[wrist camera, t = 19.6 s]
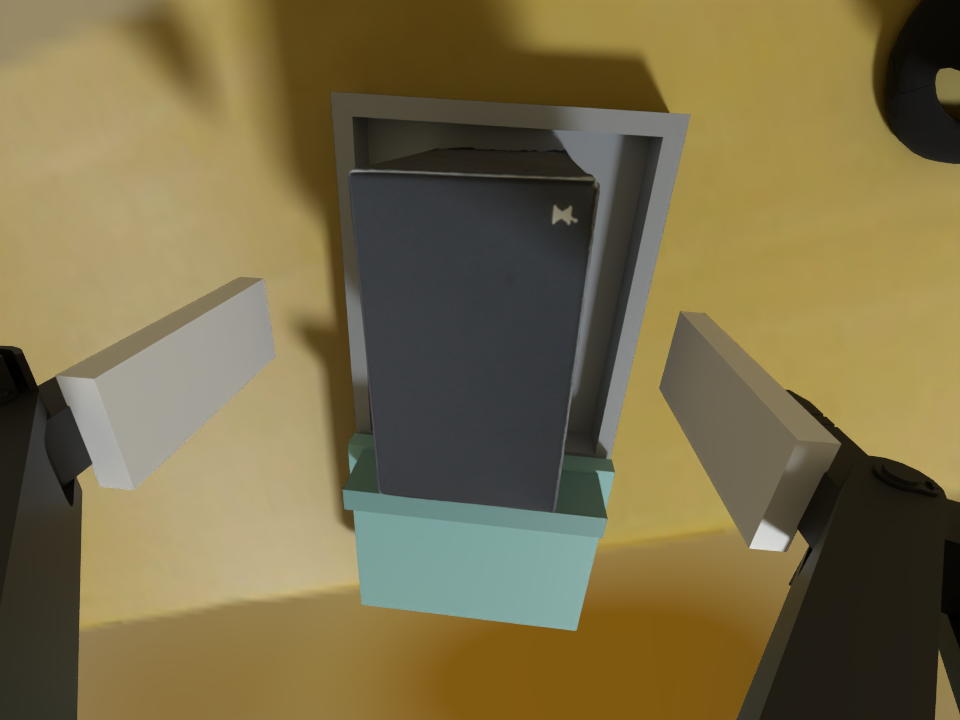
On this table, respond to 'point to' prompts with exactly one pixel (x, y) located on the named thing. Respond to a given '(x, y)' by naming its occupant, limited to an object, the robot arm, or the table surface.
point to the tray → (617, 235)
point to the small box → (472, 318)
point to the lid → (478, 547)
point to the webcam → (925, 81)
